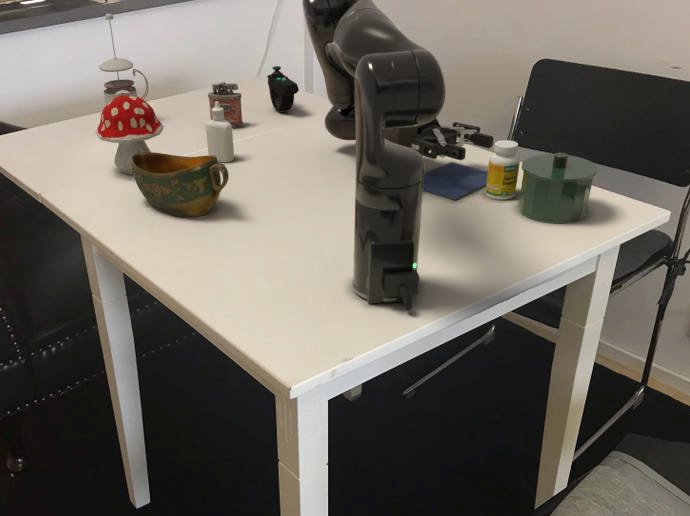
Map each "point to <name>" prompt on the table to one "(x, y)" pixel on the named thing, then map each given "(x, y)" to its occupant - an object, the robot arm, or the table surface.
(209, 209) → the cup
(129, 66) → the french press
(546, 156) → the pot lid
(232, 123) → the lighter
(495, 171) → the supplement bottle
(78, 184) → the table surface
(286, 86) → the controller
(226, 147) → the eye dropper bottle
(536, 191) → the pot
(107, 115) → the decorative mushroom
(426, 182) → the flat panel
